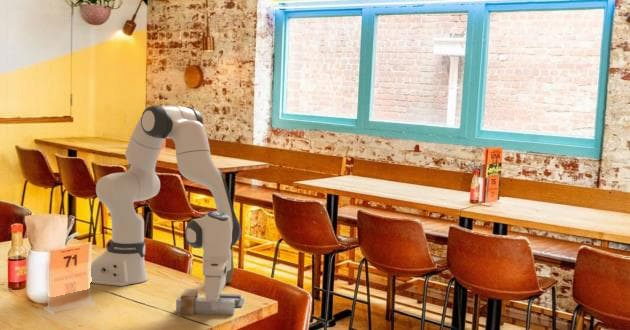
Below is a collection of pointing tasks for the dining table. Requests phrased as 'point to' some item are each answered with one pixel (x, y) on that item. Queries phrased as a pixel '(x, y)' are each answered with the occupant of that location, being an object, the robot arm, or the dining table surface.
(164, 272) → the dining table surface
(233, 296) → the cradle
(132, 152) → the robot arm
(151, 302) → the dining table surface
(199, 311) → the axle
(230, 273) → the squeeze bottle
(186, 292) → the brown block
